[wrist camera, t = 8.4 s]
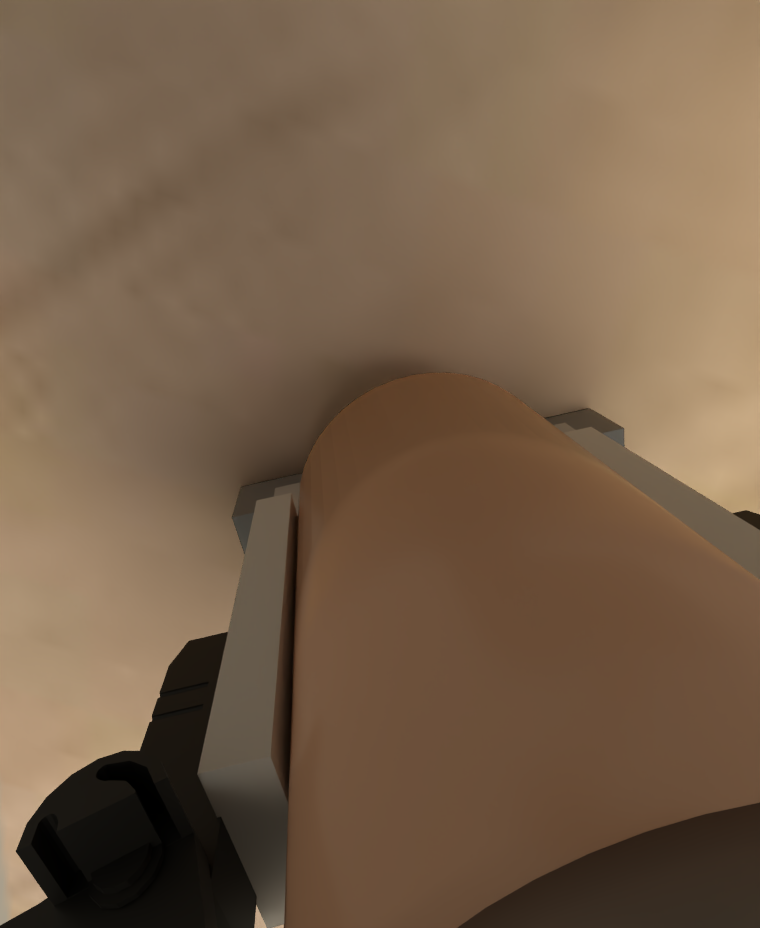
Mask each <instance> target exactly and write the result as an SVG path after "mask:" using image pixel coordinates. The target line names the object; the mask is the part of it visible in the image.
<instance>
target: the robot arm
mask: <svg viewBox="0 0 760 928" xmlns="http://www.w3.org/2000/svg"><path fill="white" fill-rule="evenodd" d="M564 434H566V435H567V436H568V437H570V438H571V439H572V440H574V441H575V442H576V443H578V444H579V445H580V446H582V447H583V448H584V449H586V450H587V451H588V452H590V453H591V454H592V455H594V456H595V457H596V458H598V459H599V460H600V461H602V462H603V463H604V464H606V465H607V466H608V467H610V468H611V469H612V470H614V471H615V472H616V473H618V474H619V475H620V476H622V477H623V478H624V479H626V480H627V481H628V482H630V483H631V484H632V485H634V486H635V487H636V488H638V489H639V490H640V491H642V492H643V493H644V494H646V495H647V496H648V497H650V498H651V499H652V500H654V501H655V502H656V503H658V504H659V505H660V506H662V507H663V508H664V509H666V510H667V511H668V512H670V513H671V514H672V515H674V516H675V517H676V518H678V519H679V520H680V521H682V522H683V523H684V524H686V525H687V526H688V527H690V528H691V529H692V530H694V531H695V532H696V533H698V534H699V535H700V536H702V537H703V538H705V539H706V540H707V541H709V542H710V543H711V544H713V545H714V546H715V547H717V548H718V549H719V550H721V551H722V552H723V553H725V554H726V555H727V556H729V557H730V558H731V559H733V560H734V561H735V562H737V563H738V564H739V565H741V566H742V567H743V568H745V569H746V570H747V571H749V572H750V573H751V574H753V575H754V576H755V577H757V578H758V579H759V580H760V515H759V514H756V513H753V512H750V511H747V510H745V511H741V512H736V513H731V512H729V511H728V510H726V509H724V508H723V507H721V506H720V505H718V504H716V503H715V502H713V501H711V500H710V499H708V498H706V497H705V496H703V495H702V494H700V493H698V492H697V491H695V490H693V489H692V488H690V487H689V486H687V485H685V484H684V483H682V482H680V481H679V480H677V479H676V478H674V477H672V476H671V475H669V474H667V473H666V472H664V471H662V470H661V469H659V468H658V467H656V466H654V465H653V464H651V463H649V462H648V461H646V460H645V459H643V458H641V457H640V456H638V455H636V454H635V453H633V452H632V451H630V450H628V449H627V448H625V447H623V446H622V445H620V444H618V443H617V442H615V441H614V440H612V439H610V438H609V437H607V436H605V435H604V434H602V433H601V432H599V431H597V430H596V429H594V428H592V427H587V428H583V429H578V430H574V431H569V432H565V433H564ZM297 530H298V516H297V512H296V508H295V505H294V501H293V498H292V494H291V493H288V494H284V495H279V496H275V497H270V498H265V499H261V500H257V501H256V506H255V510H254V515H253V519H252V524H251V529H250V533H249V538H248V542H247V547H246V552H245V556H244V561H243V565H242V570H241V575H240V579H239V584H238V589H237V593H236V598H235V602H234V607H233V612H232V616H231V621H230V625H229V630H228V632H225V633H221V634H217V635H212V636H208V637H204V638H200V639H195V640H191V641H189V642H188V643H187V644H186V645H185V647H184V648H183V649H182V650H181V652H180V653H179V654H178V655H177V657H176V658H175V659H174V660H173V662H172V663H171V664H170V665H169V667H168V670H167V673H166V676H165V679H164V682H163V685H162V688H161V691H160V698H158V699H157V702H156V705H155V708H154V711H153V714H152V722H150V723H149V726H148V729H147V732H146V734H145V737H144V740H143V743H142V746H141V749H140V751H122V752H118V753H115V754H112V755H109V756H106V757H103V758H100V759H97V760H96V761H94V762H92V763H91V764H89V765H87V766H86V767H84V768H82V769H81V770H79V771H77V772H76V773H74V774H72V775H71V776H70V777H69V778H68V779H66V780H65V781H64V782H63V783H62V784H61V785H60V786H59V787H57V788H56V789H55V790H54V791H53V792H52V793H51V794H50V795H49V796H47V797H46V799H45V800H44V801H43V803H42V804H41V805H40V807H39V808H38V810H37V811H36V812H35V814H34V815H33V816H32V818H31V819H30V820H29V822H28V823H27V825H26V827H25V830H24V832H23V835H22V837H21V840H20V842H19V845H18V847H17V850H16V852H17V854H18V855H19V857H20V858H21V860H22V861H23V862H24V864H25V865H26V867H27V868H28V870H29V871H30V872H31V874H32V875H33V877H34V878H35V880H36V881H37V883H38V884H39V885H40V887H41V888H42V890H43V891H44V893H45V894H46V895H47V897H48V898H47V899H45V900H44V901H42V902H41V903H39V904H38V905H36V906H34V907H33V908H31V909H29V910H27V911H25V912H24V913H22V914H20V915H18V916H16V917H15V918H13V919H11V920H9V921H8V922H6V923H4V924H2V925H1V926H0V928H254V924H255V912H256V905H257V907H258V909H259V911H260V913H261V916H262V918H263V920H264V922H265V924H266V927H267V928H272V927H276V926H280V925H284V914H285V884H286V854H287V825H288V795H289V766H290V736H291V707H292V677H293V648H294V618H295V589H296V559H297Z"/></svg>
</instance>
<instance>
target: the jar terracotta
mask: <svg viewBox="0 0 760 928" xmlns="http://www.w3.org/2000/svg"><path fill="white" fill-rule="evenodd" d="M284 928H760V580H759V579H758V578H757V577H755V576H754V575H753V574H751V573H750V572H749V571H747V570H746V569H745V568H743V567H742V566H741V565H739V564H738V563H737V562H735V561H734V560H733V559H731V558H730V557H729V556H727V555H726V554H725V553H723V552H722V551H721V550H719V549H718V548H717V547H715V546H714V545H713V544H711V543H710V542H709V541H707V540H706V539H705V538H703V537H702V536H700V535H699V534H698V533H696V532H695V531H694V530H692V529H691V528H690V527H688V526H687V525H686V524H684V523H683V522H682V521H680V520H679V519H678V518H676V517H675V516H674V515H672V514H671V513H670V512H668V511H667V510H666V509H664V508H663V507H662V506H660V505H659V504H658V503H656V502H655V501H654V500H652V499H651V498H650V497H648V496H647V495H646V494H644V493H643V492H642V491H640V490H639V489H638V488H636V487H635V486H634V485H632V484H631V483H630V482H628V481H627V480H626V479H624V478H623V477H622V476H620V475H619V474H618V473H616V472H615V471H614V470H612V469H611V468H610V467H608V466H607V465H606V464H604V463H603V462H602V461H600V460H599V459H598V458H596V457H595V456H594V455H592V454H591V453H590V452H588V451H587V450H586V449H584V448H583V447H582V446H580V445H579V444H578V443H576V442H575V441H574V440H572V439H571V438H570V437H568V436H567V435H566V434H564V433H563V432H562V431H560V430H559V429H558V428H556V427H555V426H554V425H552V424H551V423H550V422H548V421H547V420H546V419H544V418H543V417H542V416H540V415H539V414H538V413H536V412H535V411H534V410H532V409H531V408H530V407H528V406H527V405H526V404H524V403H523V402H522V401H520V400H519V399H518V398H516V397H515V396H514V395H512V394H511V393H509V392H507V391H506V390H504V389H502V388H501V387H499V386H497V385H495V384H492V383H490V382H488V381H485V380H483V379H480V378H476V377H472V376H468V375H463V374H455V373H424V374H417V375H410V376H407V377H403V378H400V379H396V380H392V381H390V382H388V383H385V384H383V385H380V386H378V387H376V388H374V389H372V390H370V391H369V392H367V393H365V394H363V395H362V396H360V397H358V398H357V399H356V400H354V401H353V402H352V403H350V404H349V405H348V406H347V407H345V408H344V409H343V410H342V411H341V412H340V413H339V414H338V415H337V416H336V417H335V418H334V419H333V420H332V421H331V422H330V423H329V424H328V426H327V427H326V428H325V429H324V431H323V432H322V433H321V435H320V436H319V438H318V439H317V441H316V443H315V445H314V446H313V448H312V450H311V452H310V454H309V456H308V459H307V461H306V464H305V466H304V470H303V474H302V478H301V482H300V490H299V500H298V530H297V559H296V589H295V618H294V648H293V677H292V707H291V736H290V766H289V795H288V825H287V854H286V884H285V914H284Z"/></svg>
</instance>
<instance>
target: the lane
mask: <svg viewBox="0 0 760 928" xmlns="http://www.w3.org/2000/svg"><path fill="white" fill-rule="evenodd" d="M545 419H546V420H547V421H548V422H550V423H551V424H552V425H554V426H555V427H556V428H558V429H559V430H560V431H562V432H563V433H565V432H569V431H574V430H578V429H583V428H587V427H592V428H594V429H596V430H597V431H599V432H601V433H602V434H604V435H605V436H607V437H609V438H610V439H612V440H614V441H615V442H617V443H618V444H620V445H622V446H623V447H624V428H623V427H621V426H619V425H617V424H616V423H614V422H612V421H611V420H609V419H607V418H605V417H604V416H602V415H600V414H599V413H597V412H595V411H593V410H592V409H590V408H589V409H585V410H581V411H576V412H572V413H567V414H563V415H558V416H554V417H550V418H545ZM302 474H303V473H301V474H297V475H292V476H288V477H283V478H279V479H275V480H270V481H266V482H261V483H257V484H252V485H248V486H243V487H241V489H240V492H239V495H238V499H237V502H236V505H235V509H234V512H233V516H232V519H233V522H234V525H235V528H236V531H237V533H238V536H239V539H240V542H241V545H242V548H243V551H244V554H245V552H246V547H247V542H248V538H249V533H250V529H251V524H252V519H253V515H254V510H255V506H256V501H257V500H261V499H265V498H270V497H275V496H279V495H284V494H288V493H291V494H292V498H293V501H294V505H295V508H296V512H297V516H298V500H299V490H300V482H301V478H302Z"/></svg>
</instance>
